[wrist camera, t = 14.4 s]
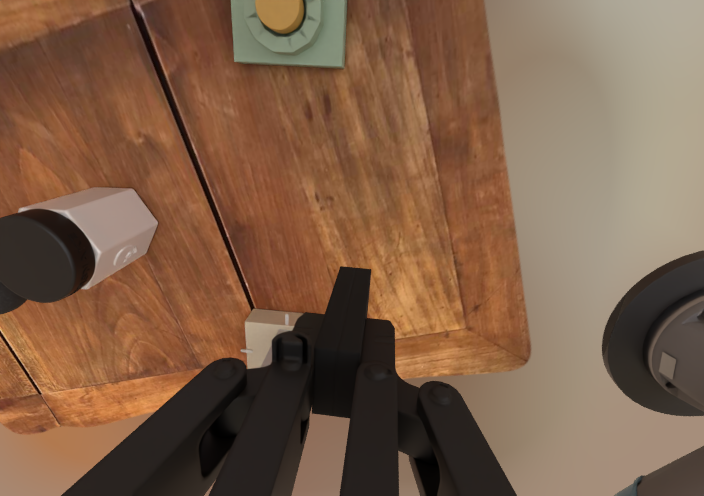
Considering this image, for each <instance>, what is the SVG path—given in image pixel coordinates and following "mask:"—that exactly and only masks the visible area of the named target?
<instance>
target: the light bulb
mask: <svg viewBox="0 0 704 496" xmlns="http://www.w3.org/2000/svg"><path fill="white" fill-rule="evenodd" d="M26 300H27V299H25V298H23V297H21V296H19V295H17V294H15V293H14V292H12V291H11V290H10V289H8V288H7V287H6V286H5V285H4V284H3V283H2V282H0V314H4V313H7V312H10V311H12V310H15V309H16V308H18V307H19V306H21V305H22V304H23V303H25V301H26Z"/></svg>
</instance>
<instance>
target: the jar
mask: <svg viewBox="0 0 704 496" xmlns="http://www.w3.org/2000/svg"><path fill="white" fill-rule="evenodd" d="M157 226H158V222H157V220H156V219H155V218H154V216H153V215H152V213H151V212H150V211H149V209H148V208H147V207H146V205H145V204H144V203H143V201H142V200H141V199H140V197H139V196H138V194H137V193H136V192H135V190H134V189H132V188H107V187H93V188H90V189H86V190H83V191H79V192H76V193H72V194H68V195H65V196H61V197H58V198H54V199H51V200H47V201H44V202H40V203H36V204H33V205H29V206H26V207H22V208H20V209H19V211H18V213H15V214H12V215H9V216H5V217H2V218H0V282H2V283H3V284H4V285H5V286H6V287H7V288H8V289H10V290H11V291H12V292H14V293H15V294H17V295H19V296H21V297H23V298H25V299H28V300H31V301H35V302H42V303H50V302H55V301H59V300H61V299H63V298H65V297H68V296H70V295H72V294H73V293H75V292H77V291H78V290H79V289H89V288H91V287H93V286H94V285H96V284H97V283H99V282H101V281H102V280H104V279H106V278H107V277H109V276H110V275H112V274H114V273H115V272H117V271H119V270H120V269H122V268H123V267H125V266H127V265H128V264H130V263H132V262H133V261H135V260H136V259H138V258H140V257H141V256H143V255H145V254H146V253H147V250H148V248H149V245H150V243H151V240H152V238H153V235H154V233H155V231H156V228H157Z"/></svg>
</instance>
